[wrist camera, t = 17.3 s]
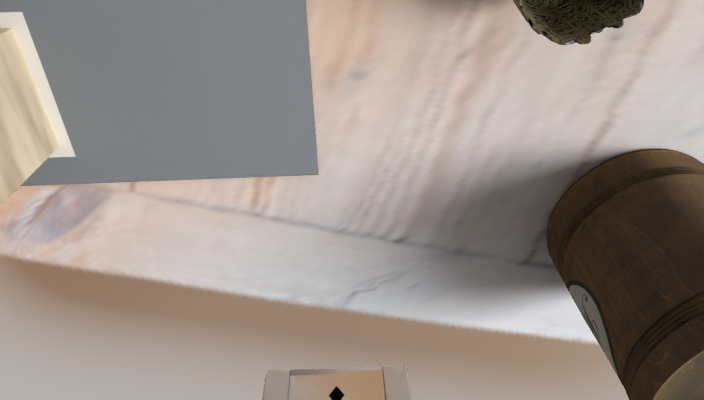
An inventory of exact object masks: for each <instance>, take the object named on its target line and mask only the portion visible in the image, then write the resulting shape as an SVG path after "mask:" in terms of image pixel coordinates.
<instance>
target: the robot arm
mask: <svg viewBox="0 0 704 400" xmlns="http://www.w3.org/2000/svg"><path fill="white" fill-rule="evenodd" d="M262 400H412V398H411V391H410V384H409V378H408V370H407V368H406V366H405V365H397V366H396V365H395V366H383V367H382V366H366V367H348V368H337V369H317V370H315V369H310V370H270V371H268V372H267V375H266V378H265V385H264V391H263V398H262Z"/></svg>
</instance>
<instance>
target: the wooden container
mask: <svg viewBox="0 0 704 400" xmlns="http://www.w3.org/2000/svg"><path fill="white" fill-rule="evenodd" d="M547 245H548V250H549V253H550V256H551V258H552V260H553V262H554V264H555V266H556V268H557V270H558V271H559V273H560V275H561V277H562V279H563V280H564V282H565V284H566V287H567V289H568V291H569V292H570V294H571V296H572V298H573V300H574V302H575V303H576V305H577V307H578V309H579V311H580V312H581V314H582V316H583V318H584V319H585V321H586V323H587V324H588V326H589V328H590V329H591V331H592V333H593V334H594V336H595V338H596V339H597V341H598V343H599V344H600V346H601V348H602V349H603V351H604V352H605V354H606V356H607V358H608V360H609V361H610V363H611V365H612V367H613V369H614V370H615V372H616V374H617V376H618V377H619V379H620V381H621V383H622V385H623V386H624V388H625V390H626V393H627V395H628V397H629V400H704V164H703V163H701V162H700V161H698V160H697V159H695V158H694V157H692V156H689V155H687V154H684V153H681V152H677V151H672V150H645V151H638V152H633V153H629V154H625V155H622V156H619V157H616V158H614V159H611V160H609V161H607V162H605V163H603V164H601V165H599V166H597V167H596V168H594V169H593V170H591V171H590V172H588V173H587V174H586V175H584V176H583V177H582V178H580V179H579V180H578V181H577V182H576V183H575V184H574V185H573V186H572V187H571V188H570V189H569V190H568V191H567V192H566V193H565V194H564V196H563V197H562V198H561V199H560V201H559V202H558V204H557V206H556V208H555V209H554V211H553V213H552V216H551V218H550V221H549V225H548V229H547Z"/></svg>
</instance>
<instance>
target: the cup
mask: <svg viewBox="0 0 704 400" xmlns="http://www.w3.org/2000/svg"><path fill="white" fill-rule="evenodd" d="M513 1H514V3H515V4H516V6H517V7H518V9H519V11H520V12H521V13H522V15H523V16H524V18H525V20H526V21H527V22H528V23H529V24H530V26H531V28H532V29H533V30H534V31H535V32H537V33H538V34H539V35H540V34H542V35H544V36H545V37H547V38H548V39H549V40H551V41H553V42H555V43H557V44H560V45H568V44H573V43H575V42H577V43H579V44H588V43H590V42H591V36H589V35H591V34H593V33H600V32H601V31H602V30H603V29H605V28H606V27H609V28H610V27H613V28H620V27H622V26H623V24H624V21H623V19H624V18H627V17H631V16H633V15H637V14H638V13H640V11H641V10H642V8H643V5H644V0H513Z"/></svg>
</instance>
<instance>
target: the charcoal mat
mask: <svg viewBox="0 0 704 400" xmlns="http://www.w3.org/2000/svg"><path fill="white" fill-rule="evenodd" d="M3 28H13V30H14V33H15V35H16V38H17V40H18V43H19V45H20V48H21V50H22V53H23V55H24V58H25V60H26V63H27V65H28V68H29V70H30V73H31V75H32V78H33V80H34V83H35V85H36V88H37V90H38V93H39V95H40V98H41V100H42V103H43V105H44V108H45V110H46V113H47V115H48V118H49V120H50V123H51V125H52V128H53V130H54V133H55V136H56V138H57V141H58V143H59V147H58V148H57V149H56V150H55V151H54V152H53V153H52V154H51V155H50V156H49V157H48V158H47V159H46V160H45V161H44V162H43V163H42V164H41V165H40V166H39V167H38V168H37V169H36V170H35V171H34V172H33V173H32V174H31V175H30V176H29V177H28V178H27V180H26V181H25V182H24V183H23V184H22V185H21V186H33V185H60V184H86V183H113V182H140V181H166V180H193V179H219V178H246V177H273V176H299V175H318V162H317V148H316V135H315V122H314V108H313V95H312V81H311V68H310V54H309V41H308V27H307V14H306V0H0V29H3Z"/></svg>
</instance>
